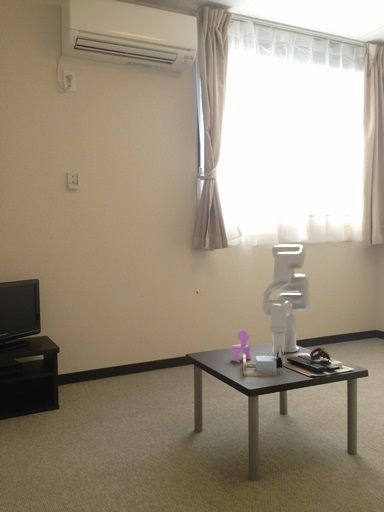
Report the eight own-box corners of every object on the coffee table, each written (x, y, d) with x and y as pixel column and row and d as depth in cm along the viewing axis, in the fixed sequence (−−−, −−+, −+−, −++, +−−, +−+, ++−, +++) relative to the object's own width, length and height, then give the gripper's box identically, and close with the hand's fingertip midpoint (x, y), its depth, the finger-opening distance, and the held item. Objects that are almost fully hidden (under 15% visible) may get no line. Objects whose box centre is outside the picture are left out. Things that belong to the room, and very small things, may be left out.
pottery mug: (331, 366, 232) (323, 352, 231) (314, 372, 236) (306, 359, 236) (333, 354, 243) (325, 341, 242) (317, 360, 247) (309, 347, 246)
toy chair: (229, 359, 246) (228, 331, 245) (241, 356, 251) (241, 328, 250) (240, 363, 239) (239, 333, 238) (252, 360, 244) (252, 331, 244)
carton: (255, 368, 230) (255, 356, 230) (274, 368, 229) (274, 356, 229) (256, 373, 221) (256, 361, 221) (276, 373, 220) (276, 361, 220)
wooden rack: (243, 365, 234) (242, 353, 234) (274, 366, 233) (274, 353, 232) (243, 375, 218) (243, 362, 218) (277, 375, 217) (277, 363, 217)
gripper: (269, 326, 231) (269, 363, 232) (271, 332, 216) (272, 372, 217) (284, 326, 231) (285, 363, 232) (288, 332, 216) (288, 372, 217)
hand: (278, 367), depth 225 cm, fingers closed
